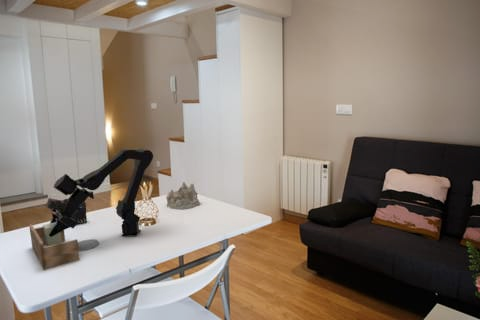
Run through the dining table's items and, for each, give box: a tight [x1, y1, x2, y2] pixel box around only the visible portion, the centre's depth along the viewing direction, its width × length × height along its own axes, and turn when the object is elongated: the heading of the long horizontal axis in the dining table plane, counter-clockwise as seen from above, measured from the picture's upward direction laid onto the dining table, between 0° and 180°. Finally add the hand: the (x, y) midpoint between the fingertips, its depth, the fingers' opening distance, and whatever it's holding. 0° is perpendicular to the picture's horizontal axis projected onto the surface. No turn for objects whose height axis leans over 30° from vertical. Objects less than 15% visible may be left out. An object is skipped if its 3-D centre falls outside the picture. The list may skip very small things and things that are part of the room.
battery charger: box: [73, 201, 88, 226], centre depth 179 cm, size 7×4×11 cm, turn 126°
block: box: [42, 222, 63, 247], centre depth 146 cm, size 5×5×10 cm
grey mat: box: [78, 239, 100, 251], centre depth 154 cm, size 10×10×1 cm
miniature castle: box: [165, 181, 201, 211], centre depth 205 cm, size 16×16×15 cm
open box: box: [28, 224, 81, 270], centre depth 146 cm, size 12×25×10 cm, turn 37°
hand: (48, 234), depth 144 cm, fingers closed on block, 5 cm apart
